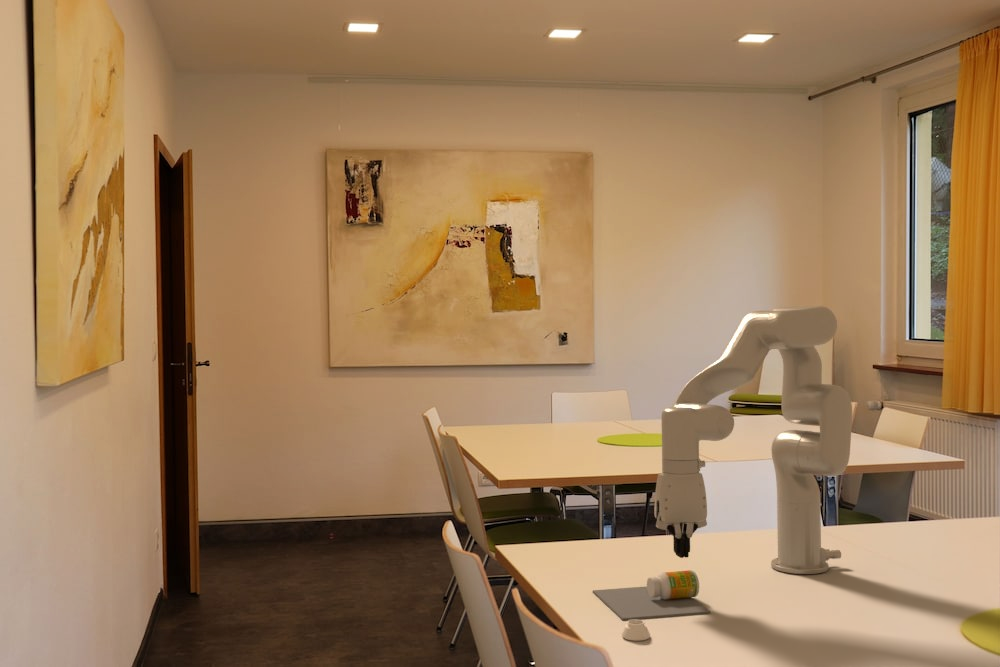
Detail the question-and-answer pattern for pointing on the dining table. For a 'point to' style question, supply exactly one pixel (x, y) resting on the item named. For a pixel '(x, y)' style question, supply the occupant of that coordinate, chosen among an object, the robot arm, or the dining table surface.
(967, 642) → the dining table surface
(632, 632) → the lidless jar
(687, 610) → the felt mat
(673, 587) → the supplement bottle
